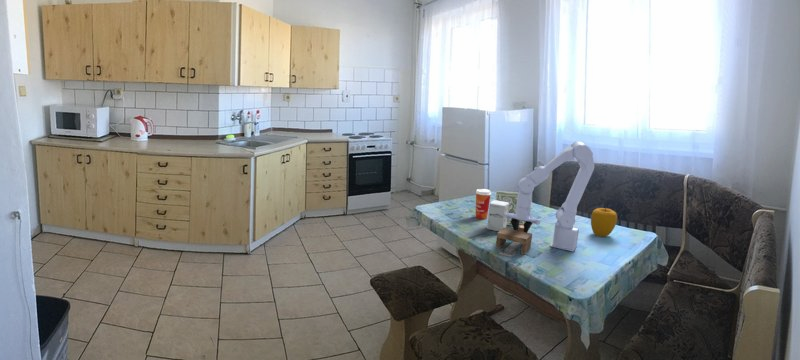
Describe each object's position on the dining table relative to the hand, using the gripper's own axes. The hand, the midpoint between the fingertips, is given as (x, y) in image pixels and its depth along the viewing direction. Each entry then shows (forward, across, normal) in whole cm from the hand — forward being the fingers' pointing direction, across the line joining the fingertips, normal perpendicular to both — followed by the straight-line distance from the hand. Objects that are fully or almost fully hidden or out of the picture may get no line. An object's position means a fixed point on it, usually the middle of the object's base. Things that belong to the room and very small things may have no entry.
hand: (520, 237), depth 193 cm
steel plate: (+3, 0, +16) cm, 16 cm away
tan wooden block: (+2, 0, +5) cm, 5 cm away
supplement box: (+2, +14, -10) cm, 18 cm away
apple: (+2, -28, -32) cm, 43 cm away
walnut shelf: (+2, 0, +9) cm, 9 cm away
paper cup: (+2, +26, -21) cm, 34 cm away
